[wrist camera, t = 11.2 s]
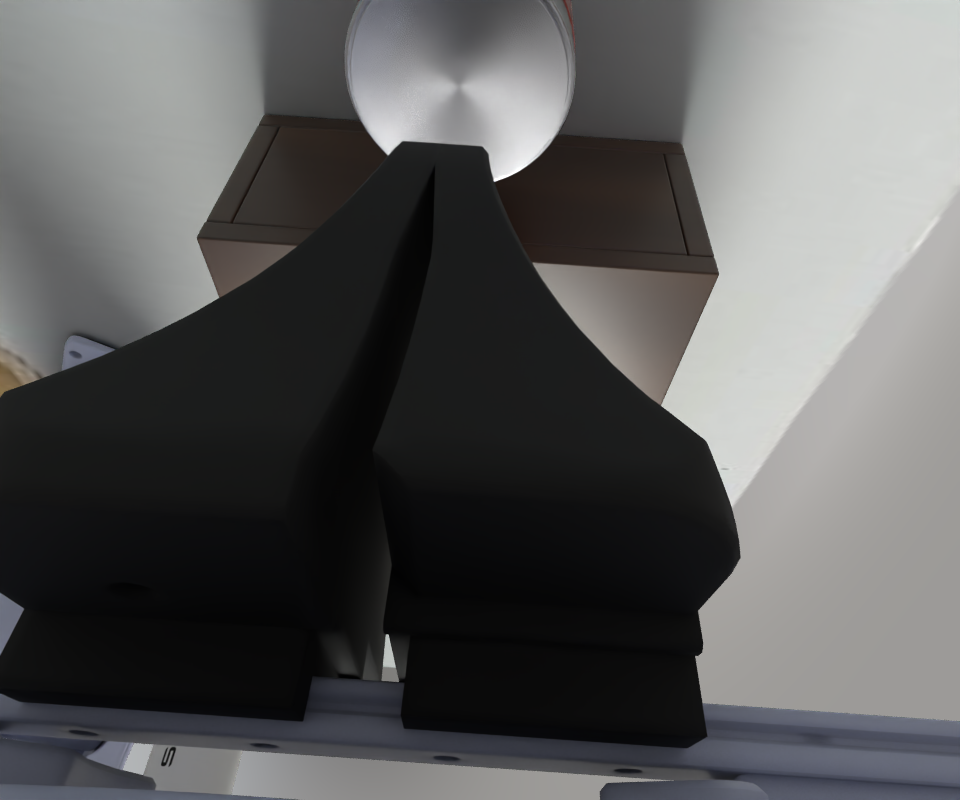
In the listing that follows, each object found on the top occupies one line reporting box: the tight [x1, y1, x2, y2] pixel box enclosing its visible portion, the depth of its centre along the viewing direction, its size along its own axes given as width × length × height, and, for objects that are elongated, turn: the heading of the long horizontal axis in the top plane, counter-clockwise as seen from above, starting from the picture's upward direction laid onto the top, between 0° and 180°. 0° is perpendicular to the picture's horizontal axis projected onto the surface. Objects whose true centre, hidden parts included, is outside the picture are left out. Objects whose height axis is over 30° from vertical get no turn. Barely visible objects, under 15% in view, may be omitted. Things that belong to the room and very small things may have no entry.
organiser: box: [197, 115, 719, 406], centre depth 23 cm, size 13×13×6 cm
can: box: [344, 0, 576, 182], centre depth 14 cm, size 5×5×7 cm
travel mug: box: [143, 744, 243, 795], centre depth 47 cm, size 6×7×20 cm
